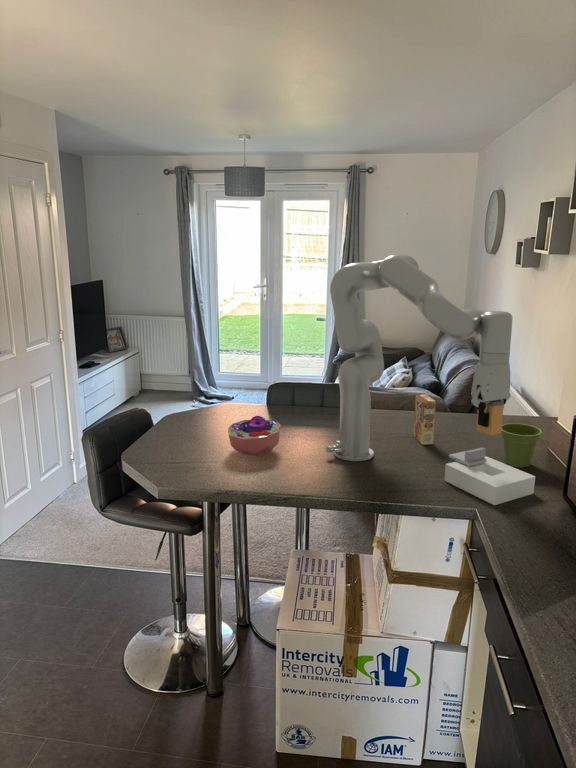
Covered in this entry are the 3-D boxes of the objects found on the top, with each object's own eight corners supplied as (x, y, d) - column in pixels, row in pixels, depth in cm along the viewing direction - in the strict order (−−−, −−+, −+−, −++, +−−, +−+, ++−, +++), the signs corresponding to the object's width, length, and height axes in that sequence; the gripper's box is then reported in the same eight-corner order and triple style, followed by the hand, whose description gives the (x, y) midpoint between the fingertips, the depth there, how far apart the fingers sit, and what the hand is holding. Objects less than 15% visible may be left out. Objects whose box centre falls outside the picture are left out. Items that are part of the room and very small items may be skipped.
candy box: (433, 444, 190) (436, 400, 186) (421, 445, 190) (424, 401, 186) (424, 436, 199) (426, 394, 195) (412, 436, 198) (415, 394, 194)
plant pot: (491, 456, 180) (494, 422, 177) (529, 457, 179) (532, 423, 177) (504, 470, 168) (507, 435, 165) (544, 471, 168) (548, 435, 165)
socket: (494, 505, 146) (496, 487, 144) (444, 480, 161) (445, 464, 160) (533, 493, 153) (535, 476, 151) (481, 470, 168) (483, 455, 167)
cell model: (215, 458, 177) (214, 423, 174) (247, 439, 195) (246, 407, 192) (263, 467, 170) (263, 431, 167) (291, 446, 188) (291, 414, 185)
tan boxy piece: (490, 435, 151) (493, 403, 149) (476, 430, 155) (478, 398, 153) (501, 433, 153) (503, 401, 151) (486, 428, 157) (488, 397, 155)
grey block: (469, 466, 157) (470, 453, 157) (448, 457, 164) (449, 444, 163) (486, 462, 161) (487, 449, 160) (465, 453, 167) (467, 441, 166)
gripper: (504, 353, 157) (499, 416, 161) (460, 359, 149) (456, 425, 153) (527, 357, 150) (521, 423, 154) (482, 363, 142) (477, 433, 146)
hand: (489, 423), depth 154 cm, fingers closed on tan boxy piece, 4 cm apart
